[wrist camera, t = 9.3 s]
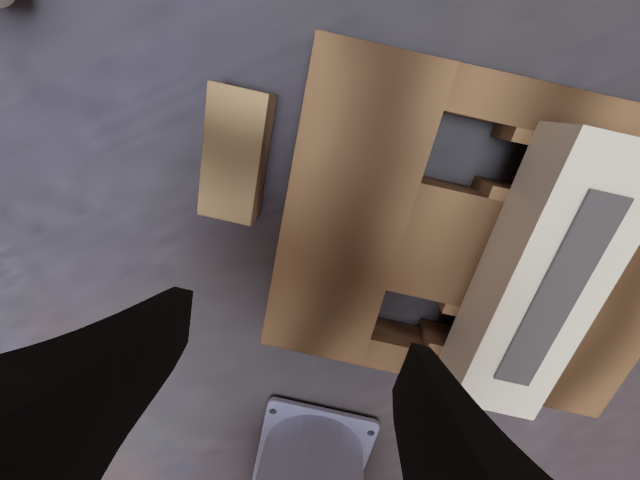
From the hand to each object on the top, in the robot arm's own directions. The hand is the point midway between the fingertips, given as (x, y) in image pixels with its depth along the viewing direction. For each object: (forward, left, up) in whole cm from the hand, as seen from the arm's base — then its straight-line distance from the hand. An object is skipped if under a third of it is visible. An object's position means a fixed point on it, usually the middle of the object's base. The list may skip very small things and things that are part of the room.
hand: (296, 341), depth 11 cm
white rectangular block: (+2, -10, -9) cm, 13 cm away
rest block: (+4, +5, -9) cm, 11 cm away
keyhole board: (+2, -8, -9) cm, 12 cm away
